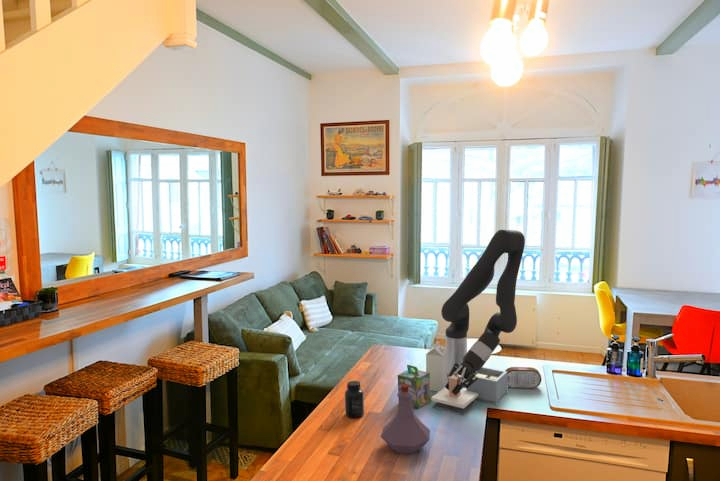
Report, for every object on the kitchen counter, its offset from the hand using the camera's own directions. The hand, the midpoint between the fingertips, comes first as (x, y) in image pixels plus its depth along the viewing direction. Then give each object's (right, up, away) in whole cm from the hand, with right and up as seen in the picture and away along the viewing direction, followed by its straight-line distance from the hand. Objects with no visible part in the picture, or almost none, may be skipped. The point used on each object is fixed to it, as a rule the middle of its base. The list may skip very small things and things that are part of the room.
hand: (450, 391), depth 182 cm
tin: (+32, -4, +16) cm, 36 cm away
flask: (-19, -9, -28) cm, 35 cm away
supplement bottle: (-36, -7, -5) cm, 37 cm away
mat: (+2, -6, +1) cm, 6 cm away
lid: (+2, -3, +1) cm, 4 cm away
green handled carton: (-13, -6, +5) cm, 15 cm away
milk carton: (-2, -4, +18) cm, 18 cm away
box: (+16, -5, +9) cm, 19 cm away
